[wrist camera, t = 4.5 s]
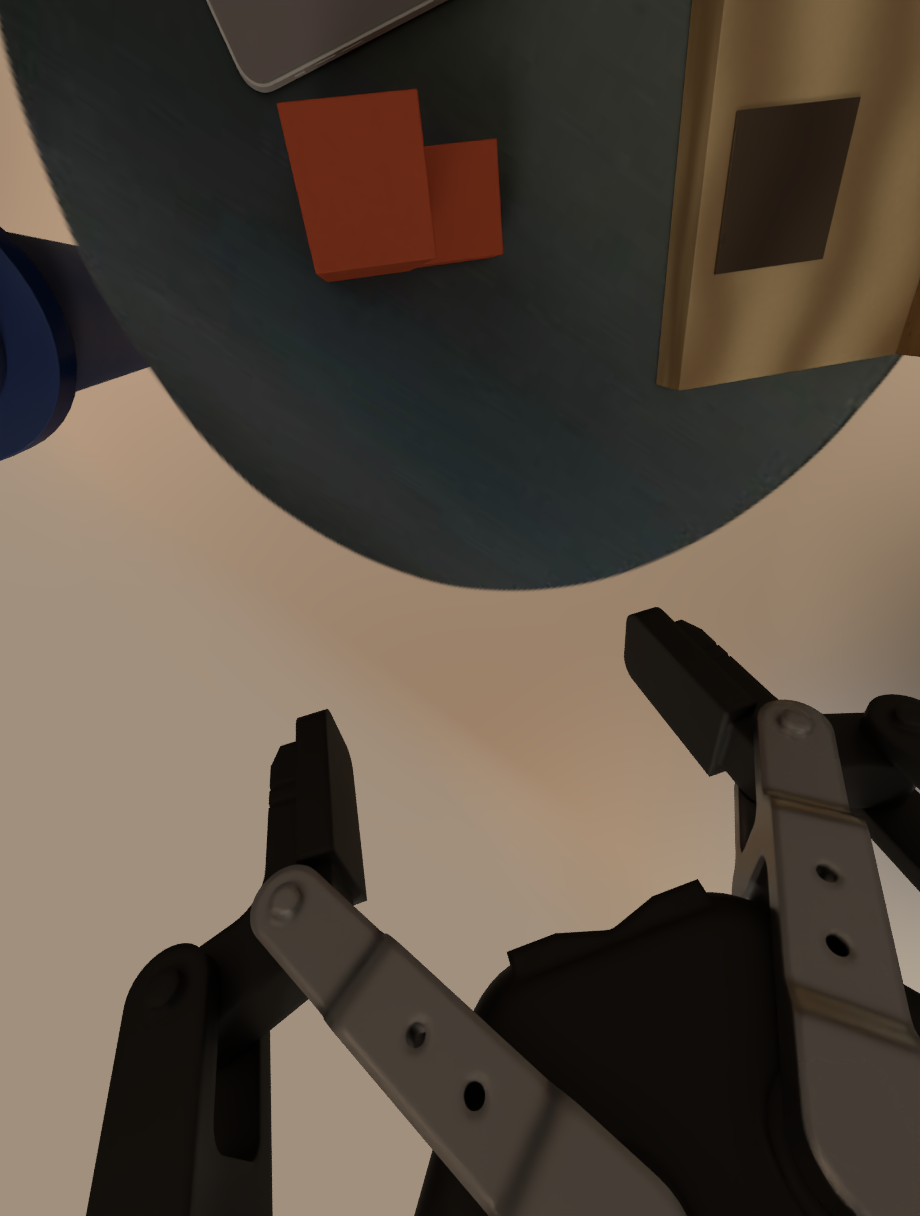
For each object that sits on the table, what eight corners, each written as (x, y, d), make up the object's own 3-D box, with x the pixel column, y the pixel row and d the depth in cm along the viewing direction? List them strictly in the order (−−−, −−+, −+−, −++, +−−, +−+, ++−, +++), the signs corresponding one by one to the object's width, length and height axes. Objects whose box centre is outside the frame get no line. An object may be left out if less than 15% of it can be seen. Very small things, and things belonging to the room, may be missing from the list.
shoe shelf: (655, 384, 36) (715, 401, 30) (695, -42, 25) (801, -146, 19) (877, 347, 38) (974, 356, 32) (1005, -67, 27) (1189, -170, 21)
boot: (326, 282, 29) (315, 274, 20) (301, 171, 26) (276, 102, 17) (490, 259, 30) (553, 242, 21) (483, 150, 27) (551, 74, 18)
